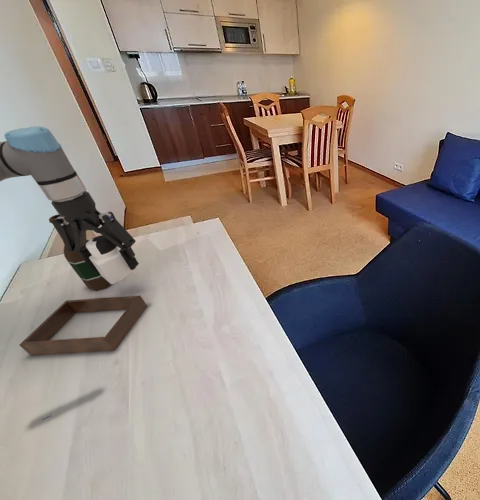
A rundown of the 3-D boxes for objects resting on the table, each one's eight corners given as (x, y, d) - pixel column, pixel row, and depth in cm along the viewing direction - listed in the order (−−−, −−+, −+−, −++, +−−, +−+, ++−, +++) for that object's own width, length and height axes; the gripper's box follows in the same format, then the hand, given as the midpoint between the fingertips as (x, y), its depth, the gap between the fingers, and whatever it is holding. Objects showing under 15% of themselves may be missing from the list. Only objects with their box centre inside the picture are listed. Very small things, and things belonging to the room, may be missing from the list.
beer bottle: (86, 284, 95) (35, 218, 81) (114, 272, 100) (70, 207, 86) (92, 295, 91) (39, 226, 77) (121, 282, 95) (76, 214, 81)
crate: (33, 358, 73) (18, 344, 70) (76, 313, 85) (66, 300, 82) (116, 352, 72) (105, 339, 69) (148, 308, 84) (140, 295, 81)
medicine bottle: (128, 263, 91) (107, 229, 84) (139, 271, 87) (117, 236, 80) (102, 276, 86) (77, 241, 80) (112, 285, 83) (87, 249, 76)
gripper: (123, 185, 76) (162, 257, 88) (37, 192, 76) (87, 263, 89) (104, 198, 70) (148, 273, 82) (10, 206, 70) (68, 279, 83)
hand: (116, 268), depth 86 cm, fingers closed on medicine bottle, 10 cm apart
